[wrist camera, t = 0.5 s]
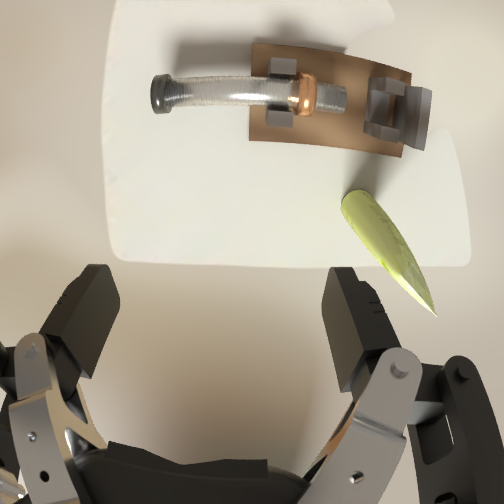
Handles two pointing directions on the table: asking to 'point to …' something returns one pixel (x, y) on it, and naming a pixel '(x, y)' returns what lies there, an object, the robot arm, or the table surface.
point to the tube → (385, 244)
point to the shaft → (248, 93)
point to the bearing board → (357, 108)
